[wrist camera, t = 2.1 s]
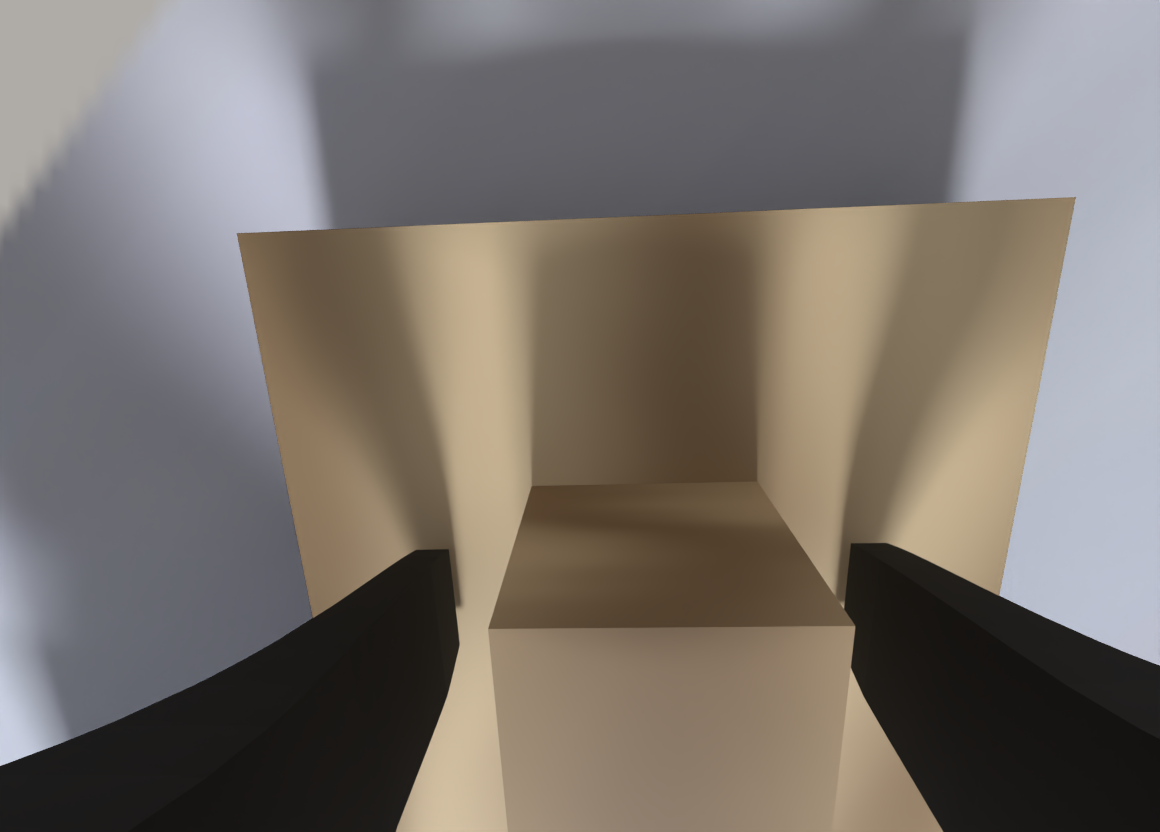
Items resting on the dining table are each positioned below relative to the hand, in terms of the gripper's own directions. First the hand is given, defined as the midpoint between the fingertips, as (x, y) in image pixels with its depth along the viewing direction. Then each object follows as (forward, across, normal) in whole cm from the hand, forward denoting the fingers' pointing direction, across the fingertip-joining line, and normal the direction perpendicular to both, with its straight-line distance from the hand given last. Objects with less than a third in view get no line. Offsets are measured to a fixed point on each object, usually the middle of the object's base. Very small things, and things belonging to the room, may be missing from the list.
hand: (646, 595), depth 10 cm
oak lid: (+1, 0, 0) cm, 1 cm away
